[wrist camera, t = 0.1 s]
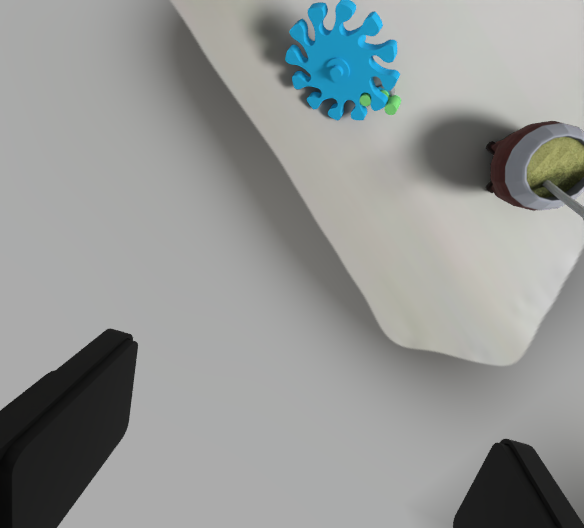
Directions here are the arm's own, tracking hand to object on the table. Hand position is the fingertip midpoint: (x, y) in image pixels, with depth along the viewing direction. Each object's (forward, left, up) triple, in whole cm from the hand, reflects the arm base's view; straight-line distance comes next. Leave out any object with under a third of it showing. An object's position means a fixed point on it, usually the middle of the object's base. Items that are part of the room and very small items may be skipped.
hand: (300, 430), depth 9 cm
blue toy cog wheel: (-13, -2, -32) cm, 34 cm away
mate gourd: (-9, +16, -31) cm, 36 cm away
